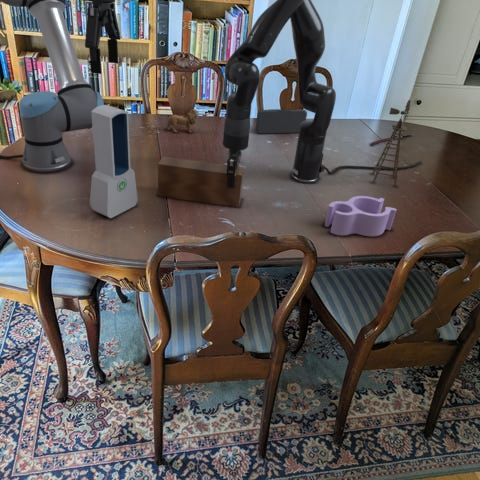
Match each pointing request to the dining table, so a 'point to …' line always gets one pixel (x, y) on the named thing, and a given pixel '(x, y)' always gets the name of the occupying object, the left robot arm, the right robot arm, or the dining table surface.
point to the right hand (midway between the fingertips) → (232, 182)
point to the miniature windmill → (399, 125)
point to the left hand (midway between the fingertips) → (105, 67)
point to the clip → (359, 216)
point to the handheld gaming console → (280, 120)
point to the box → (198, 182)
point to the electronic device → (112, 163)
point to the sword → (386, 139)
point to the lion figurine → (183, 120)
